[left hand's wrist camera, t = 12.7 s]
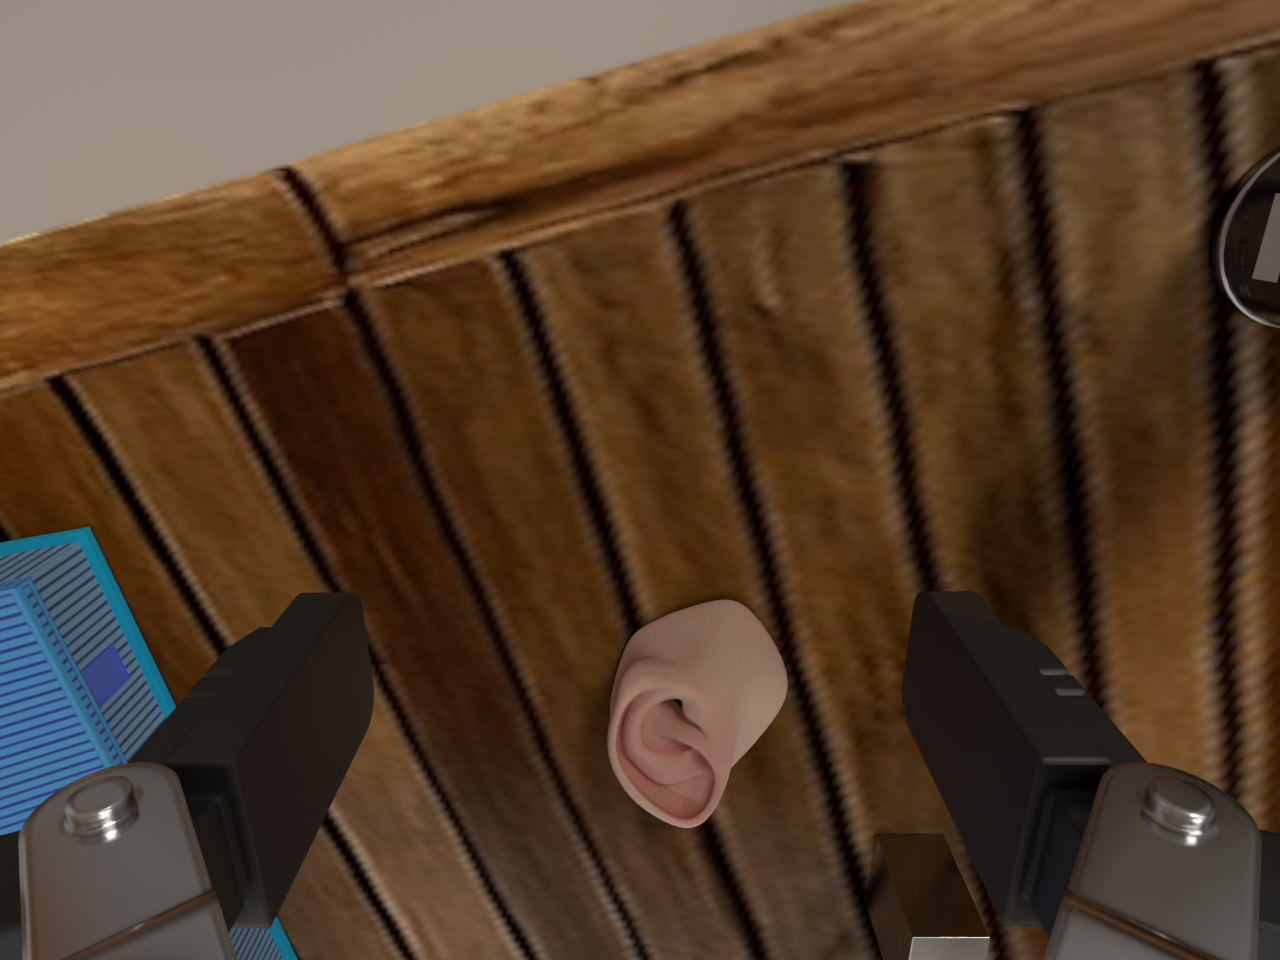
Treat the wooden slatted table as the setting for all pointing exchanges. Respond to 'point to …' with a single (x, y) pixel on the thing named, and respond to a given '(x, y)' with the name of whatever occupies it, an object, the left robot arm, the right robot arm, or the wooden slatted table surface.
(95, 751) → the model building
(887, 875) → the block
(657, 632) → the anatomical model
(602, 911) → the wooden slatted table surface
